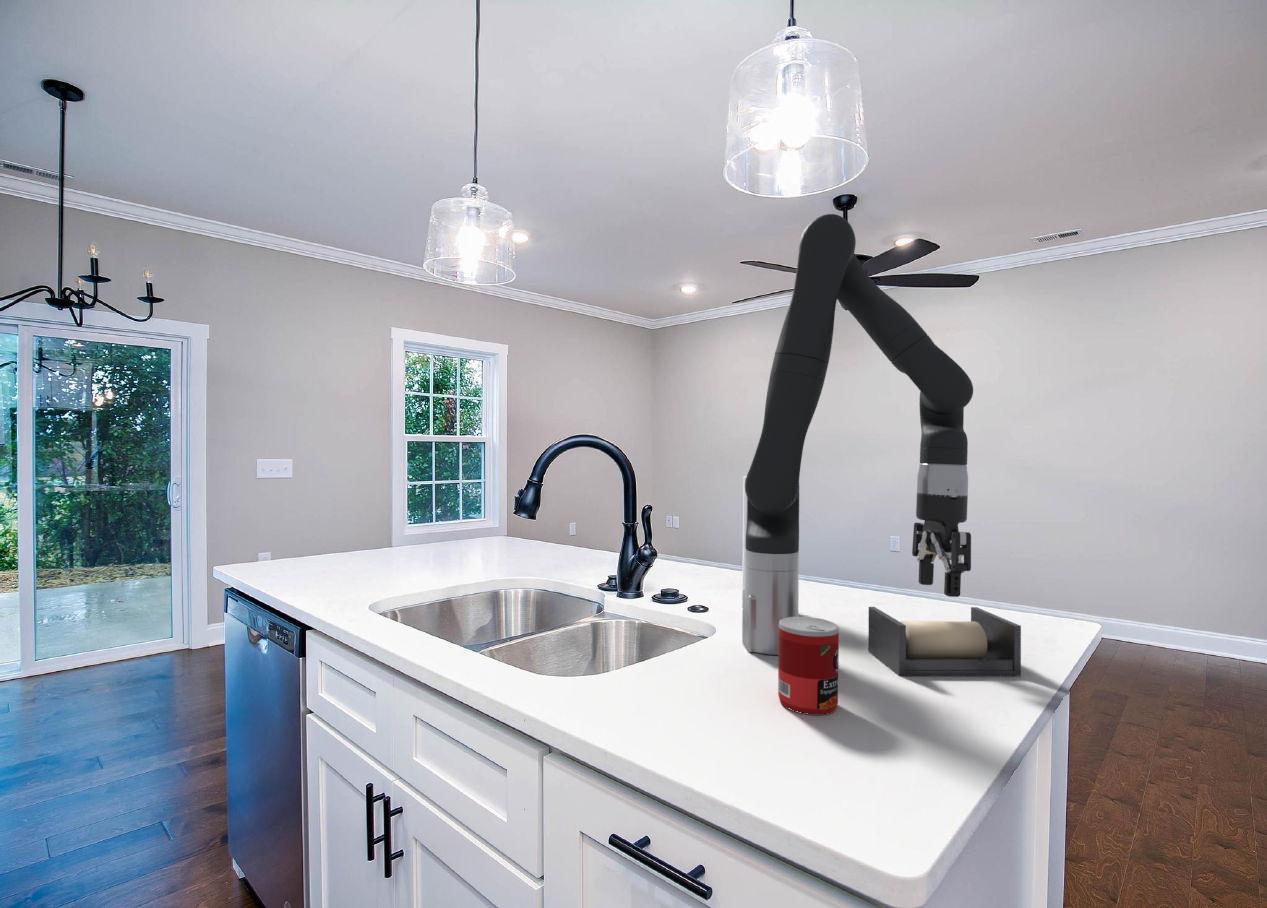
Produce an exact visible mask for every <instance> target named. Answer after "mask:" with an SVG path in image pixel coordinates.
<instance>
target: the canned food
mask: <svg viewBox="0 0 1267 908" xmlns="http://www.w3.org/2000/svg"><path fill="white" fill-rule="evenodd" d="M839 631H840V630H839V626H838V625H837V624H836V623H835V622H833V621H830V620H827V619H824V618H819V617H818V618H817V617H811V616H810V617H809V616H798V617H788V618H784V619H781V620H780V621H779V633H778V655H777V657H778V658H777V659H778V660H777V661H778V666H777V668H778V670H777V672H778V674H777V675H778V677H777V678H778V680H777V681H778V683H777V685H778V686H777V687H778V689H777V691H778V693H777V694H778V698H779V699H778V700H779V703H780V704H781V703H782V704H781V705H782V706H783V707H785V708H786V707H787V708H786V709H788V708H790V709H792V710H794V711H793V712H795V711H798V712H801V713H800V714H802V713H808V714H825V715H828V714H827V713H829V714H832V713H834V712H835V711H836V710H837V707H838V704H839V657H840V656H839V655H840V654H839V652H840V651H839V646H840V642H839V641H840V637H839V635H840V632H839ZM835 709H836V710H835ZM792 710H791V711H792ZM833 711H834V712H833ZM798 712H797V713H798ZM831 712H832V713H831ZM808 714H807V715H808Z"/></svg>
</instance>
